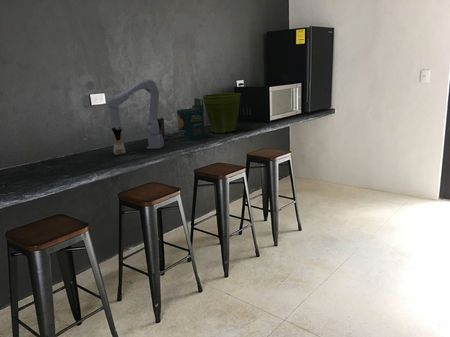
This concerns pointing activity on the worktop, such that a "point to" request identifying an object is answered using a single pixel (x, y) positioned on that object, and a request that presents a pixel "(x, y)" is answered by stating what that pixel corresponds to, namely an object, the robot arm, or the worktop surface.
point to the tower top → (119, 146)
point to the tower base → (119, 151)
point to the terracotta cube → (118, 140)
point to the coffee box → (161, 127)
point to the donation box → (191, 122)
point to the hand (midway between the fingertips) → (117, 139)
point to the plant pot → (222, 111)
